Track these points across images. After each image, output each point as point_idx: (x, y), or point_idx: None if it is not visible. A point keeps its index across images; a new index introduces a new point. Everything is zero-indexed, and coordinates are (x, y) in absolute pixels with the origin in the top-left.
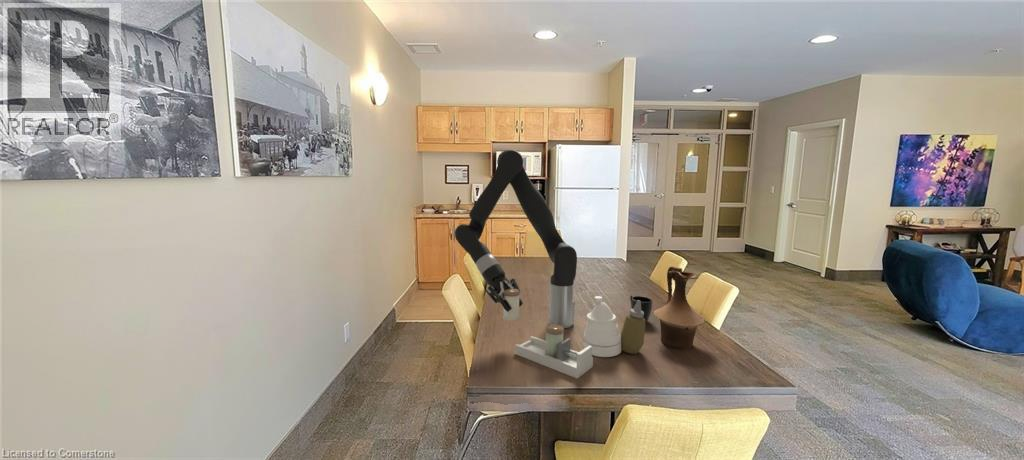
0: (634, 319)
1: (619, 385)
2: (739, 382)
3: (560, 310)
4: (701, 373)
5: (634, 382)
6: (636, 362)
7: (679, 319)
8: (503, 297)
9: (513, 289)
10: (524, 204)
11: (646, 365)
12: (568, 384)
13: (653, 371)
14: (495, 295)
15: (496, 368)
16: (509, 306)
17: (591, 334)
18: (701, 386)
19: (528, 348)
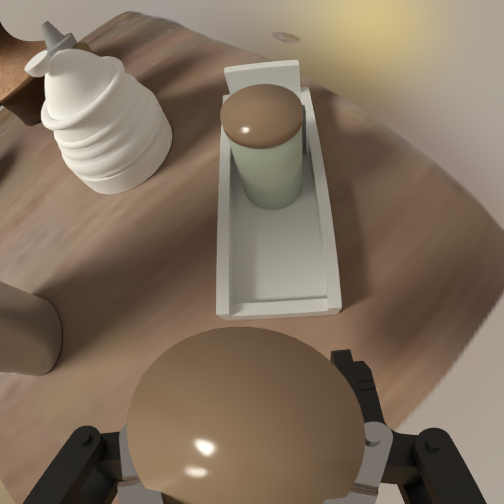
0: (81, 45)
1: (263, 59)
2: (141, 20)
3: (12, 304)
4: (138, 39)
5: (233, 54)
6: (150, 85)
7: (45, 45)
8: (378, 441)
9: (164, 461)
10: None
11: (153, 73)
12: (345, 107)
13: (170, 59)
14: (467, 473)
15: (450, 282)
16: (349, 361)
17: (143, 111)
18: (179, 24)
19: (325, 245)
